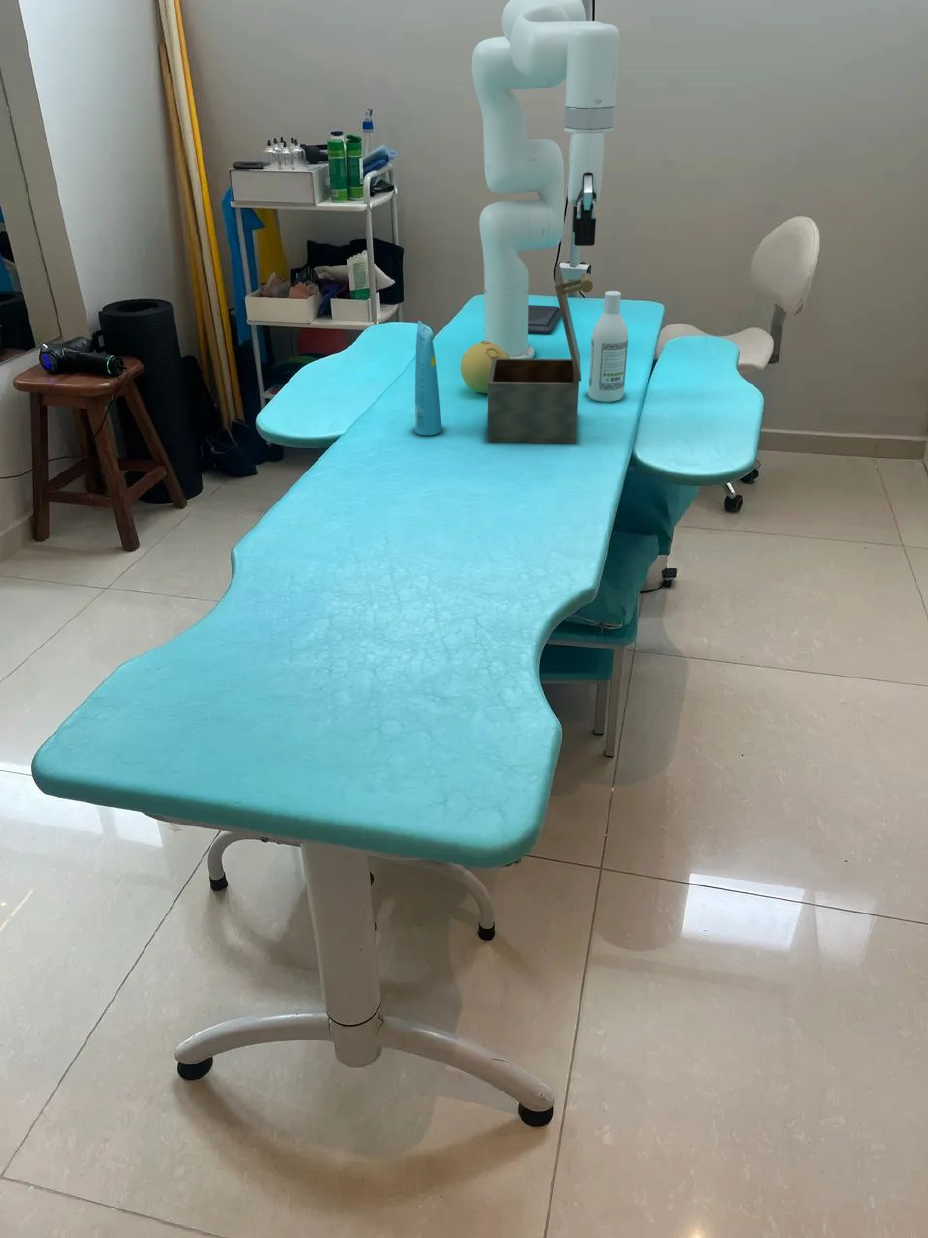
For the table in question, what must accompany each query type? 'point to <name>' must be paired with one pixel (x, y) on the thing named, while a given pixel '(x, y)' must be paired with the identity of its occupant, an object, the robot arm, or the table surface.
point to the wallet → (542, 318)
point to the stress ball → (479, 364)
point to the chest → (532, 401)
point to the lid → (561, 292)
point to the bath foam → (608, 352)
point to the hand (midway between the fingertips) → (583, 238)
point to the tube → (426, 385)
